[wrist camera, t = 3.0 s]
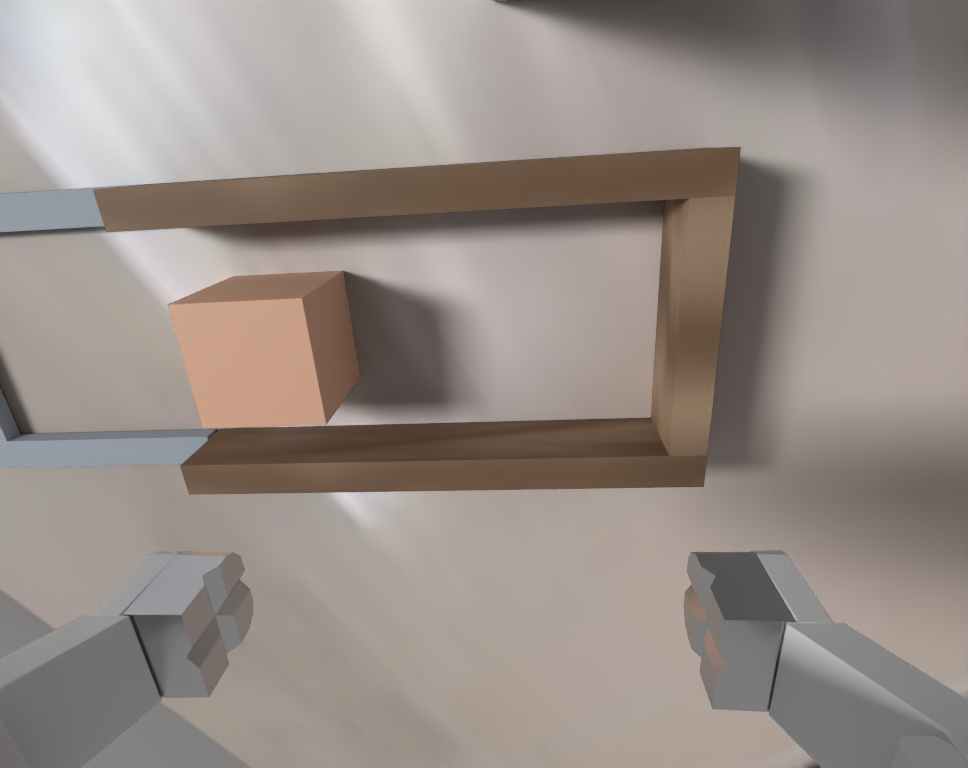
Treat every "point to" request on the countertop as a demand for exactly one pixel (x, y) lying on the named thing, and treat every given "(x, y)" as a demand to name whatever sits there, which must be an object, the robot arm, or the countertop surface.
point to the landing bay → (13, 449)
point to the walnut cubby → (485, 445)
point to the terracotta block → (268, 349)
